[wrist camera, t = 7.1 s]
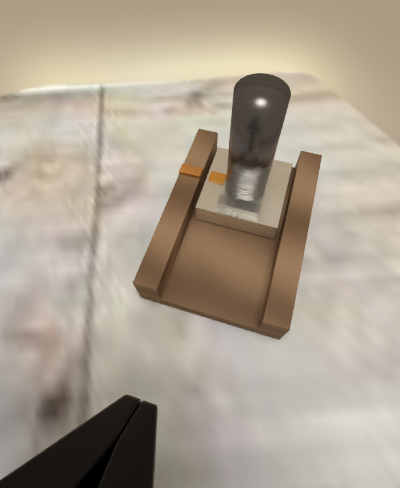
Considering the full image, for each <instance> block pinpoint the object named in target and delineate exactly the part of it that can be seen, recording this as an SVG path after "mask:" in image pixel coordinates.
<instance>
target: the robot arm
mask: <svg viewBox="0 0 400 488" xmlns="http://www.w3.org/2000/svg"><path fill="white" fill-rule="evenodd" d="M157 411H158V408H157V405H155V404H152V403H149V402H147V401H142V402H141V400H140V399H138V398H136V397H133V396H130V395H124V396H123V397H121V398H120V399H118V400H117V401H115V402H114V403H112V404H111V405H109V406H108V407H107V408H105V409H104V410H102V411H101V412H99V413H98V414H96V415H95V416H93V417H92V418H90V419H89V420H88V421H86V422H85V423H83V424H82V425H80V426H79V427H77V428H76V429H74V430H73V431H71V432H70V433H69V434H67V435H66V436H64V437H63V438H61V439H60V440H58V441H57V442H55V443H54V444H52V445H51V446H49V447H48V448H47V449H45V450H44V451H42V452H41V453H39V454H38V455H36V456H35V457H33V458H32V459H30V460H29V461H28V462H26V463H25V464H23V465H22V466H20V467H19V468H17V469H16V470H14V471H13V472H11V473H10V474H9V475H7V476H6V477H4V478H3V479H1V480H0V488H154V470H155V451H156V431H157Z"/></svg>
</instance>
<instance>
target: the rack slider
mask: <svg viewBox="0 0 400 488" xmlns="http://www.w3.org/2000/svg"><path fill="white" fill-rule="evenodd" d="M290 96H291V91H290V88H289V86H288V85H287V84H286V83H285V82H284V81H283V80H282V79H280V78H278V77H276V76H274V75H270V74H263V73H257V74H251V75H248V76H245V77H243V78H242V79H240V80H239V81H238V82H237V83H236V85H235V87H234V94H233V106H232V117H231V129H230V140H229V150H227V149H223V148H218V149H217V152H216V154H215V157H214V160H213V162H212V165H211V168H210V170H209V173H208V176H207V178H206V181H205V183H204V186H203V189H202V191H201V194H200V197H199V199H198V202H197V205H196V207H195V209H196V219H198V220H202V221H206V222H210V223H214V224H217V225H221V226H225V227H229V228H233V229H237V230H241V231H244V232H248V233H252V234H256V235H260V236H264V237H268V238H271V239H273V238H274V236H275V233H276V231H277V228H278V224H279V219H280V215H281V211H282V207H283V202H284V198H285V194H286V190H287V185H288V181H289V177H290V173H291V168H292V164H290V163H286V162H281V161H277V160H273V159H274V156H275V152H276V148H277V145H278V141H279V137H280V133H281V130H282V126H283V122H284V119H285V115H286V111H287V108H288V104H289V100H290Z"/></svg>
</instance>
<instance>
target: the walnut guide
mask: <svg viewBox="0 0 400 488" xmlns="http://www.w3.org/2000/svg"><path fill="white" fill-rule="evenodd" d="M217 136H218V133H216V132H211V131H207V130H202V129H199V130H198V132H197V134H196V137H195V139H194V141H193V144H192V146H191V148H190V151H189V153H188V155H187V158H186V160H185V162H184V164H182V166H181V168H180V171H179V176H178V179H177V181H176V183H175V186H174V188H173V190H172V193H171V195H170V197H169V200H168V202H167V204H166V207H165V209H164V211H163V214H162V216H161V218H160V221H159V223H158V225H157V228H156V230H155V232H154V235H153V237H152V239H151V242H150V244H149V246H148V249H147V251H146V253H145V256H144V258H143V260H142V263H141V265H140V267H139V270H138V272H137V274H136V277H135V279H134V281H133V284H134V286H135V287H136V289H137V291H138V293H139V294H140V296H141V297H142V298H145V299H148V300H151V301H155V302H158V303H161V304H165V305H168V306H171V307H174V308H178V309H181V310H184V311H187V312H191V313H194V314H197V315H201V316H204V317H207V318H210V319H214V320H217V321H220V322H223V323H227V324H230V325H233V326H237V327H240V328H243V329H246V330H250V331H253V332H256V333H259V334H263V335H266V336H269V337H273V338H276V339H280V338H281V337H282V336H284V335H285V334H286V333H287V332H288V331H289V330H290V324H291V319H292V314H293V308H294V303H295V298H296V292H297V287H298V281H299V276H300V271H301V265H302V260H303V254H304V249H305V244H306V238H307V233H308V228H309V222H310V217H311V211H312V206H313V201H314V195H315V190H316V184H317V179H318V174H319V168H320V163H321V157H322V155H318V154H314V153H309V152H304V151H301V153H300V156H299V158H298V161H297V164H296V166H295V168H293V167H292V168H291V173H290V177H289V181H288V185H287V190H286V194H285V198H284V202H283V207H282V211H281V215H280V219H279V224H278V228H277V231H276V233H275V236H274V238H273V239H271V238H268V237H264V236H260V235H256V234H252V233H248V232H244V231H241V230H237V229H233V228H229V227H225V226H221V225H217V224H214V223H210V222H206V221H202V220H198V219H196V209H195V207H196V205H197V202H198V199H199V197H200V194H201V191H202V189H203V186H204V183H205V181H206V178H207V176H208V173H209V170H210V168H211V165H212V162H213V160H214V157H215V154H216V152H217Z"/></svg>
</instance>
